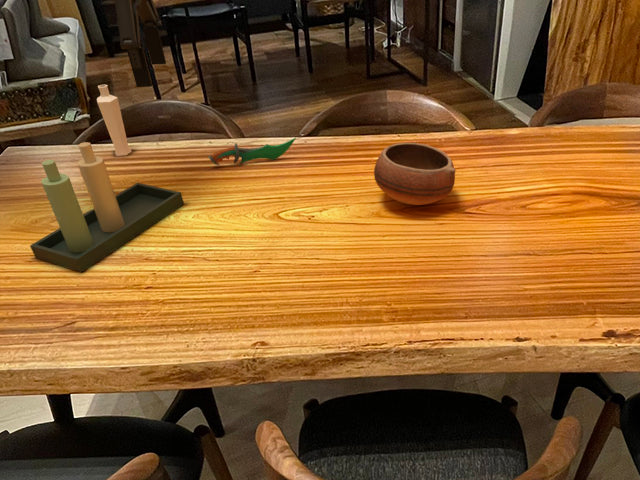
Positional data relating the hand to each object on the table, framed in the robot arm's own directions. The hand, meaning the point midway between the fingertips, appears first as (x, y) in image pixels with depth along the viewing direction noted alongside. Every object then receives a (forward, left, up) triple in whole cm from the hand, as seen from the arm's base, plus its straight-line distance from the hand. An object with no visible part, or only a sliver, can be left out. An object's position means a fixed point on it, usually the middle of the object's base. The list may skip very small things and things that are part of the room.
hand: (152, 74), depth 120 cm
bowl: (+50, +12, -22) cm, 56 cm away
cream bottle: (+2, -22, -21) cm, 30 cm away
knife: (+10, +15, -22) cm, 28 cm away
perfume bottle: (-23, +7, -22) cm, 33 cm away
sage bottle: (+2, -30, -21) cm, 36 cm away
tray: (+2, -22, -22) cm, 31 cm away
